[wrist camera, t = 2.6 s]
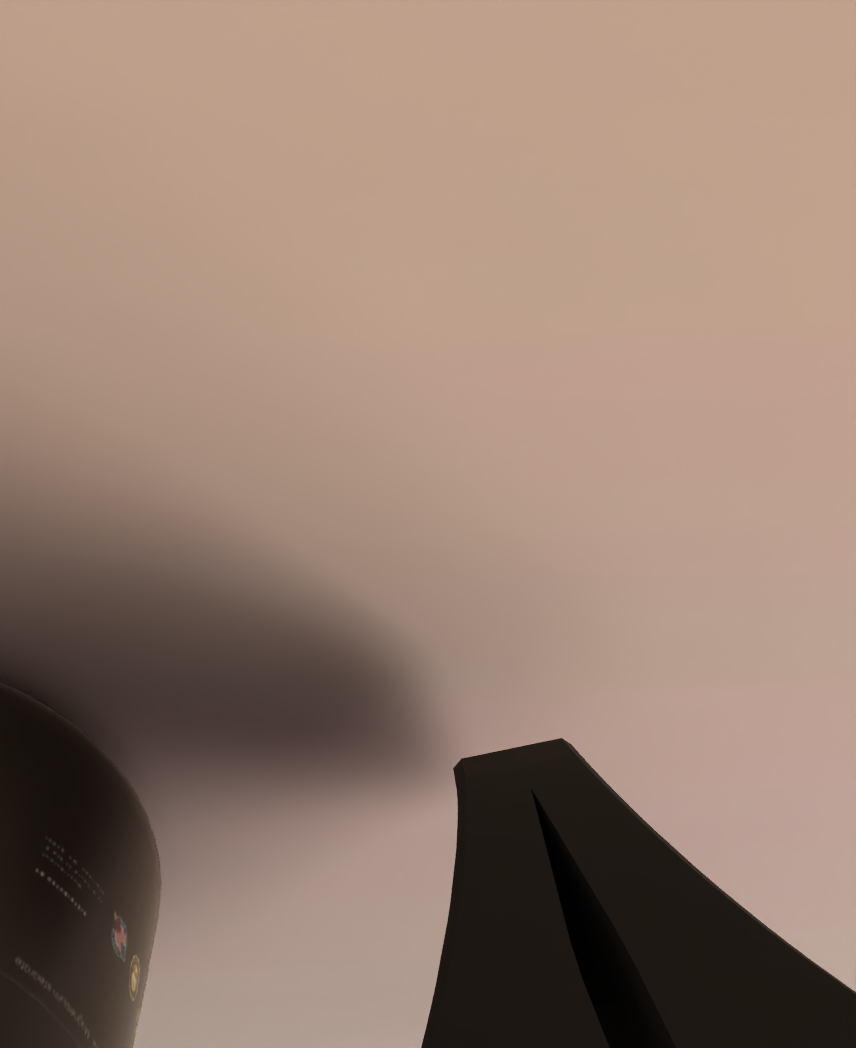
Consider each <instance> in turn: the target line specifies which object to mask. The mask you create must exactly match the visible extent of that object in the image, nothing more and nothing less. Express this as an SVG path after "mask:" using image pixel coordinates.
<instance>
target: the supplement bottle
mask: <svg viewBox="0 0 856 1048" xmlns="http://www.w3.org/2000/svg"><path fill="white" fill-rule="evenodd" d="M160 893H161V872H160V861H159V855H158V850H157V845H156V840H155V836H154V833H153V830H152V827H151V824H150V821H149V818H148V816H147V814H146V812H145V810H144V808H143V806H142V804H141V802H140V800H139V798H138V796H137V794H136V793H135V791H134V790H133V788H132V787H131V785H130V783H129V782H128V780H127V779H126V777H125V776H124V774H123V773H122V772H121V771H120V769H119V768H118V767H117V766H116V764H115V763H114V762H113V761H112V759H111V758H110V757H109V756H108V755H107V754H106V753H105V752H104V751H103V750H102V749H101V748H100V747H99V746H98V745H97V744H96V743H95V742H94V741H93V740H92V739H91V738H89V737H88V736H87V735H86V734H85V733H83V732H82V731H81V730H80V729H79V728H78V727H76V726H75V725H74V724H73V723H71V722H70V721H68V720H67V719H65V718H64V717H63V716H61V715H60V714H58V713H57V712H56V711H54V710H53V709H51V708H49V707H48V706H46V705H44V704H42V703H41V702H39V701H37V700H36V699H34V698H32V697H30V696H28V695H26V694H24V693H22V692H20V691H18V690H16V689H14V688H12V687H10V686H8V685H6V684H3V683H0V1048H133V1044H134V1040H135V1035H136V1030H137V1025H138V1020H139V1015H140V1010H141V1005H142V1001H143V996H144V991H145V986H146V981H147V976H148V971H149V962H150V958H151V953H152V948H153V943H154V937H155V932H156V926H157V921H158V915H159V905H160Z"/></svg>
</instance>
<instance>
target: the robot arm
mask: <svg viewBox="0 0 856 1048" xmlns="http://www.w3.org/2000/svg"><path fill="white" fill-rule="evenodd" d="M453 770H454V776H455V782H456V787H457V797H458V828H457V848H456V858H455V867H454V876H453V885H452V894H451V902H450V910H449V916H448V922H447V928H446V933H445V939H444V944H443V949H442V955H441V960H440V966H439V971H438V976H437V982H436V987H435V992H434V996H433V1001H432V1005H431V1009H430V1014H429V1018H428V1023H427V1027H426V1031H425V1035H424V1039H423V1043H422V1047H421V1048H856V992H855V991H853V990H852V989H850V988H849V987H848V986H846V985H845V984H843V983H842V982H841V981H839V980H838V979H836V978H835V977H834V976H832V975H831V974H829V973H828V972H827V971H825V970H824V969H822V968H821V967H820V966H818V965H817V964H815V963H814V962H813V961H811V960H810V959H809V958H807V957H806V956H805V955H803V954H802V953H801V952H799V951H798V950H797V949H795V948H794V947H793V946H791V945H790V944H789V943H787V942H786V941H785V940H783V939H782V938H781V937H780V936H778V935H777V934H776V933H774V932H773V931H772V930H771V929H769V928H768V927H767V926H765V925H764V924H763V923H762V922H760V921H759V920H758V919H757V918H756V917H754V916H753V915H752V914H751V913H749V912H748V911H747V910H746V909H745V908H743V907H742V906H741V905H740V904H738V903H737V902H736V901H735V900H733V899H732V898H731V897H730V896H729V895H727V894H726V893H725V892H724V891H722V890H721V889H720V888H719V887H718V886H717V885H715V884H714V883H713V882H712V881H711V880H710V879H708V878H707V877H706V876H705V875H704V874H703V873H701V872H700V871H699V870H698V869H697V868H696V867H695V866H693V865H692V864H691V863H690V862H689V861H688V860H687V859H686V858H685V857H684V856H682V855H681V854H680V853H679V852H678V851H677V850H676V849H675V848H674V847H673V846H671V845H670V844H669V843H668V842H667V841H666V840H665V839H664V838H663V837H661V836H660V835H659V834H658V833H657V832H656V831H655V830H654V829H653V828H652V827H651V826H650V825H649V824H647V823H646V822H645V821H644V820H643V819H642V818H641V817H640V816H639V815H638V814H637V813H636V812H635V811H634V810H633V809H632V808H631V807H630V806H629V805H628V804H627V803H626V802H625V801H624V800H623V799H622V798H621V797H620V796H619V795H618V794H617V793H616V792H615V791H614V790H613V789H612V788H611V787H610V786H609V785H608V784H607V783H606V782H605V781H604V780H603V779H602V778H601V777H600V776H599V775H598V773H597V772H596V771H595V770H594V769H593V768H592V767H591V766H590V765H589V764H588V763H587V762H586V761H585V759H584V758H583V757H582V756H581V755H580V754H579V753H578V752H577V751H576V749H575V748H574V747H573V746H572V745H571V744H570V743H568V742H567V741H565V740H564V739H562V738H560V739H555V740H550V741H546V742H541V743H536V744H531V745H526V746H521V747H516V748H512V749H507V750H502V751H497V752H492V753H487V754H482V755H478V756H473V757H468V758H463V759H461V760H460V761H459V762H458V764H457V765H456V766H455V767H454V768H453Z"/></svg>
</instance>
